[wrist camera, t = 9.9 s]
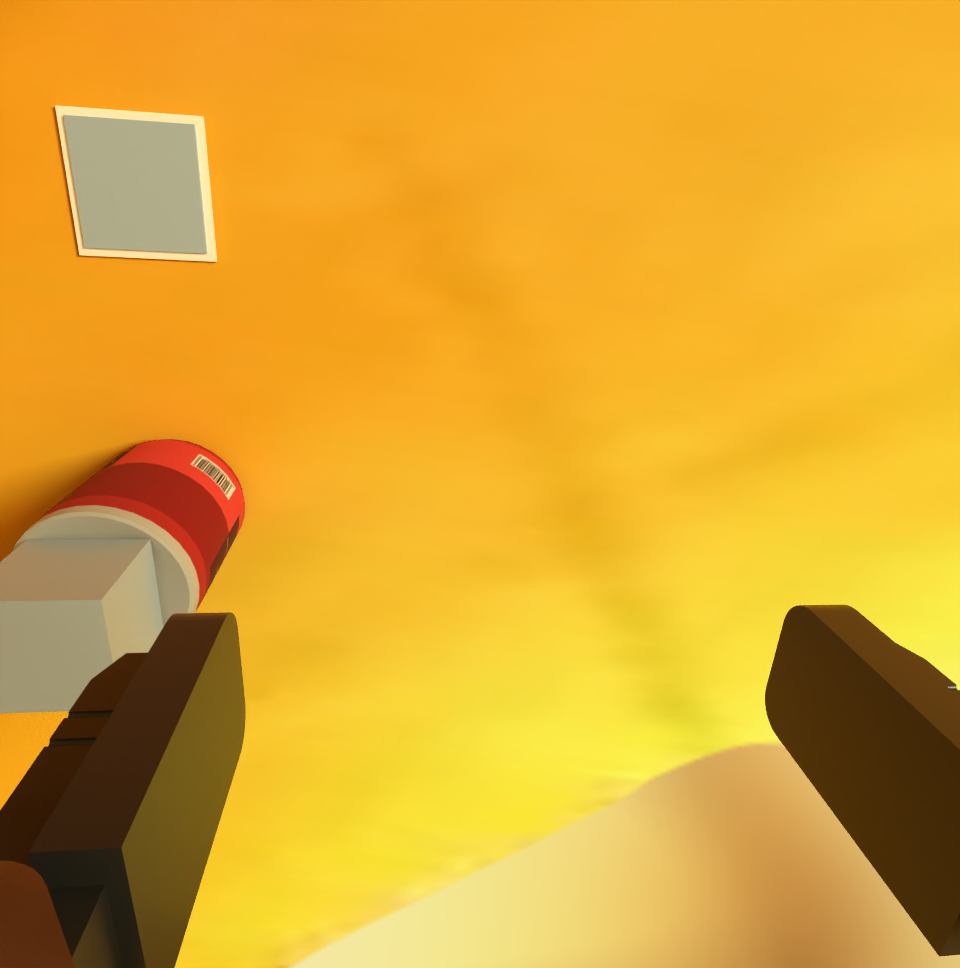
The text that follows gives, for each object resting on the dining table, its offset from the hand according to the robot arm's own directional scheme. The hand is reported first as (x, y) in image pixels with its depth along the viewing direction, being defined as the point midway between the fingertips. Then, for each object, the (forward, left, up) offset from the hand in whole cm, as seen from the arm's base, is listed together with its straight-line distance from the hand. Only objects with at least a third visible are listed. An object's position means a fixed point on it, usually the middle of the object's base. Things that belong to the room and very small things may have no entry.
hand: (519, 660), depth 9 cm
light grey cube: (+10, -15, -19) cm, 26 cm away
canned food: (+10, -15, -30) cm, 35 cm away
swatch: (-7, -15, -30) cm, 34 cm away
